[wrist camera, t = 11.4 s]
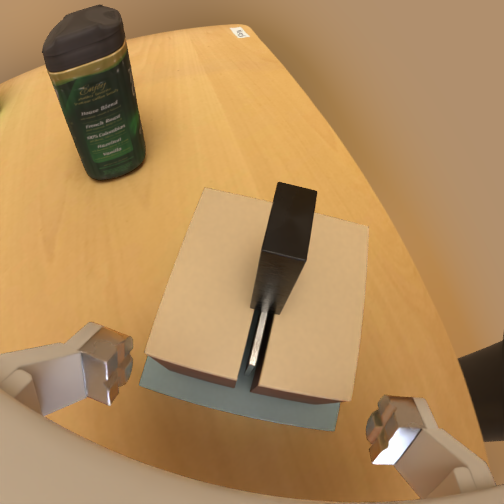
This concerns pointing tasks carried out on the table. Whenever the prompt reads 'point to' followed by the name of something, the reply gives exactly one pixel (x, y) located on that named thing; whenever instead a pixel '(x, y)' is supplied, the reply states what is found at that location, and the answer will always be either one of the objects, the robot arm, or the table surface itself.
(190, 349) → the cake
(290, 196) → the knife
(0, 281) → the table surface
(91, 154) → the coffee jar
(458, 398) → the table surface
